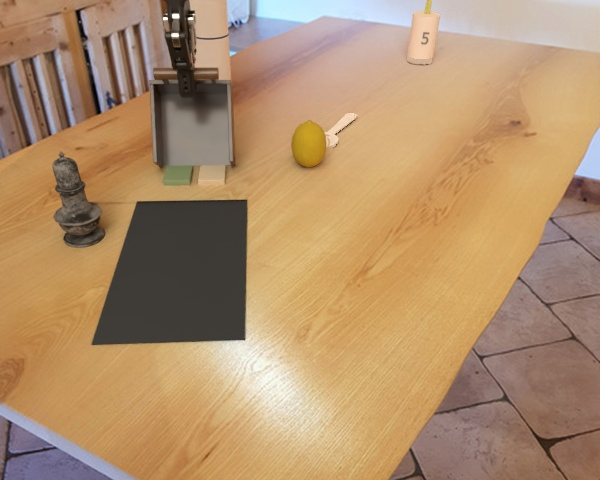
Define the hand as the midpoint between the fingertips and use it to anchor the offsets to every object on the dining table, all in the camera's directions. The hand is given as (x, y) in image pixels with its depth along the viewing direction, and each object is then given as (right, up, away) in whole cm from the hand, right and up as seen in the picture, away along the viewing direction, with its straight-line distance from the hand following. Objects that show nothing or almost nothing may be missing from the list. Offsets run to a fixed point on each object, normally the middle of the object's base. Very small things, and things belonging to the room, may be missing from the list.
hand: (188, 93), depth 79 cm
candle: (+45, +28, +54) cm, 76 cm away
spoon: (+22, +1, +21) cm, 31 cm away
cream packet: (+3, -10, +5) cm, 12 cm away
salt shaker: (-13, -22, -6) cm, 26 cm away
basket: (0, -3, +9) cm, 9 cm away
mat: (+1, -22, -6) cm, 22 cm away
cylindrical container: (-1, +10, +32) cm, 34 cm away
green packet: (-3, -10, +5) cm, 12 cm away
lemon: (+17, -9, +10) cm, 22 cm away
